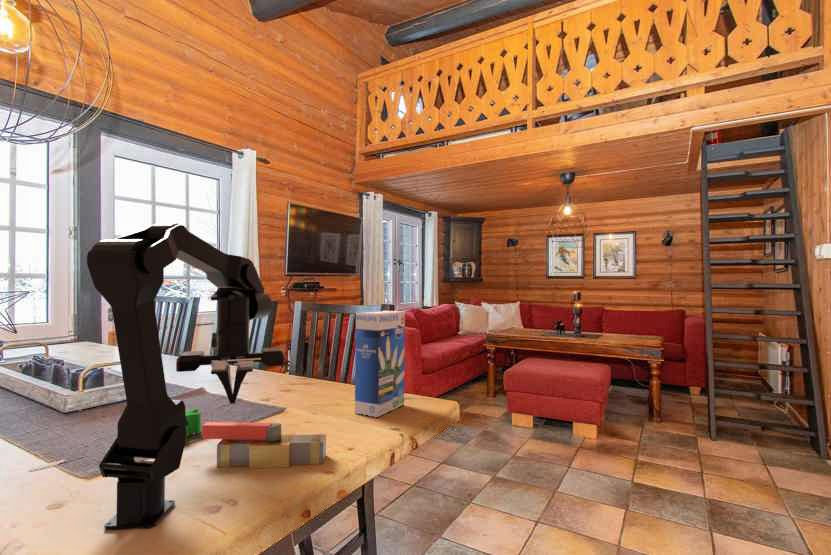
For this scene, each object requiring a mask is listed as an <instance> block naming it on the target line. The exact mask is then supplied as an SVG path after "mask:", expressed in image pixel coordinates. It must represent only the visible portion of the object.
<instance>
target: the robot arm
mask: <svg viewBox="0 0 831 555" xmlns="http://www.w3.org/2000/svg"><path fill="white" fill-rule="evenodd" d="M177 259H178V260H179V261H181V262H184V263H185V264H187V265H189V266H192V267H193V268H195V269H197V270H199V271H202V272H203V273H205V274H206V280H208V281H209V282H210V283H211V284H213V285H214V286H215V287H217V288H218V289H217V290H216V291H215V292H214V293H213V294H212V295H211V296H210V300H211V301H216V302H217V303H216V304H217V305H216V306H217V307H216V308H217V309H216V314H217V315H216V317H217V318H216V319H217V320H216V323H217V324H216V332H212V334H211V349H212V350H216V354H205V353H204V352H205V351H204V350H195V351H183V352H182V353H181V354H180V355H179V356H178V357H177V358H176V363H175V364H176V366H175V371H176V372H179V373H181V372H183V373H184V372H195V371H196V370H197V369H198V368H200V366H211V371H210V374H211V375H216V376H217V378H218V379H219V381H220V382H221V385H222V387H223V389H224V391H225V393H226V396H227V398H228V402H229V404H230V405H231V404H232V405H234V404H236V400H237V398H238V395H239V391H240V389H241V386H242V383H243V381H244V380H245V377H246V375H247V374H248V373H250V372H254V371H253V370H254V363H262V364H264V365H265V366H266V367H278V366H279V367H280V366H284V365H285V354H284V350H283V349H282V348H281V347H263V348H262V352H261V351H260V352H250V347H251V346H250V342H251V341H250V321H251V320H256V319H261V318H266V317H268V316H269V315H270V314H271V312H272V309H273V301H272V298H271V297H270V296H269V295H268V293H265V287H264V286H263V283H262V282H261V279H260V277H259V274H258V271H257V268H256V267H255V264H254V263H253V261H252V260H251V259H250V258H247V257H243V256H241V255H235V254H228V253H225V252H223V251H222V250H220V249H219V248H217V247H215V246H213V245H212V244H211V243H209V242H207V241H205V240H203V239H202V238H200V237H199V236H198V235H195V234H193V233H192V232H190V231H189V230H188V228H187V227H185V225H182V224H180V223H176V222H175V223H174V222H173V223H172V222H171V223H170V222H168V223H152V224H151V225H148V226H146V227H144V228H142V229H141V230H137V231H134V232H131V233H128V234H125V235H121V236H117V237H116V238H113V239H103V240H102V239H101V240H99V241H97V242H96V243H95V244H93V246H92V248H91V249H90V250H88V251H87V255H86V265H87V269H88V272H89V274H90V278H91V281H92V283H93V286H94V288H95V289H96V291H97V292H98V293H99V294H100V295H101V297H102V298H103V299H104V300H105V301H106V302H107V304H109V306H110V308H111V312H112V318H113V324H114V330H115V337H116V344H117V349H118V350H117V351H118V357H119V364H120V369H121V375H122V381H123V387H124V394H125V399H126V405H125V406H124V409H123V411H122V413H121V414H120V416H119V419H118V420H117V426H116V427H117V430H116V431H117V436H116V438H115V440H114V441H113V443H112V445H111V446H110V449H109V448H108V449H109V450H108V451H106V454H105V455H104V457H103V459H102V460H101V461H100V463H99V465H98V469H99V471H100V473H101V476H102V478H117V482H116V514H115V515H113V517H111V518H110V519H109V520H108V521H107V522H106V523H104V524H103V526H104V527H103V528H104V529H105V530H118V529H120V530H122V529H140V528H141V529H144V528H145V529H146V528H153V527H155V526H156V525H157V524H158V523H159V522H160V521H161V519H162V518H164V516H165V515H167V513H168V512H169V511H170V510H171V508H173V506H174V505H175V503H176V500H175V499H165V498H166V496H165V494H166V493H165V492H166V491H165V490H166V478H167V476H169V475H170V474H172V473H174V472H176V471H177V470H179V469H180V467H181V463H182V458H183V454H184V449H185V445H186V442H187V441H186V436H187V437H188V435H187V433H186V426H188V422H187V420H186V414H185V412H186V404H185V402H184V401H183V400H182V399H181V400H180V399H171V397H170V396H169V395H168V392H167V385H166V379H165V371H164V363H163V362H164V361H163V357H162V351H161V350H162V348H161V343H160V342H161V341H160V337H159V336H160V335H159V328H158V321H157V315H156V308H155V300H156V297H157V296H158V293H159V291H160V289H161V288H162V286H163V284H164V282H165V280H164V278H165V276H164V274H165V272H164V271H165V270H164V269H165V268H166V267H168V266H169V265H170V264H172V263H174V262H175V261H176V260H177ZM231 364H237V367H236V370H235V377H234V383H232V375H231ZM135 458H140V459H153V460H152V461H151V460H150V461H149V460H140V459H138V460H137V459H135Z"/></svg>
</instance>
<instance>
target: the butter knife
mask: <svg viewBox="0 0 831 555" xmlns="http://www.w3.org/2000/svg"><path fill="white" fill-rule="evenodd" d="M57 461H58V462H56V461H53V463H52V462H50V463H46V464H42V465H36V466H34V467H31V468H29V469H28V472H35V471H39V470H44V469H48V468H53V467H56V466H58V465H57V464H59V463H60V462H63V461H65V460H64V459H61V461H60V460H57Z"/></svg>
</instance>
